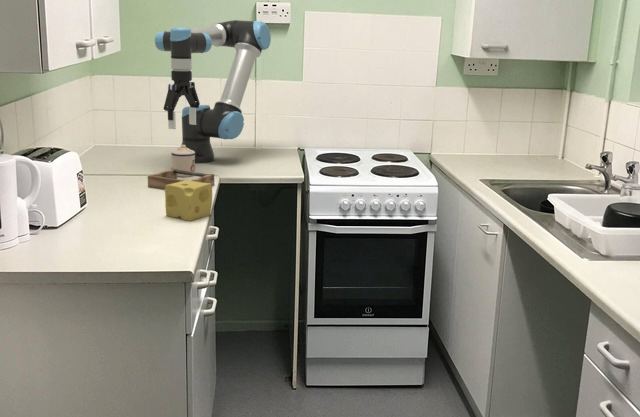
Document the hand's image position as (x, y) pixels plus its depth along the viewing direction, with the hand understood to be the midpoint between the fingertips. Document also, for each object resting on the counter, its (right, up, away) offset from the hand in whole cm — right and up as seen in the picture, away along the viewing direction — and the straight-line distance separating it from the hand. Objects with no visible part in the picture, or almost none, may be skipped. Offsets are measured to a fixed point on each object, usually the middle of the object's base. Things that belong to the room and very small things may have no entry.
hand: (182, 126), depth 267 cm
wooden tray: (+2, -23, -15) cm, 28 cm away
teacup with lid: (-1, -18, +5) cm, 19 cm away
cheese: (+12, -34, -51) cm, 62 cm away
